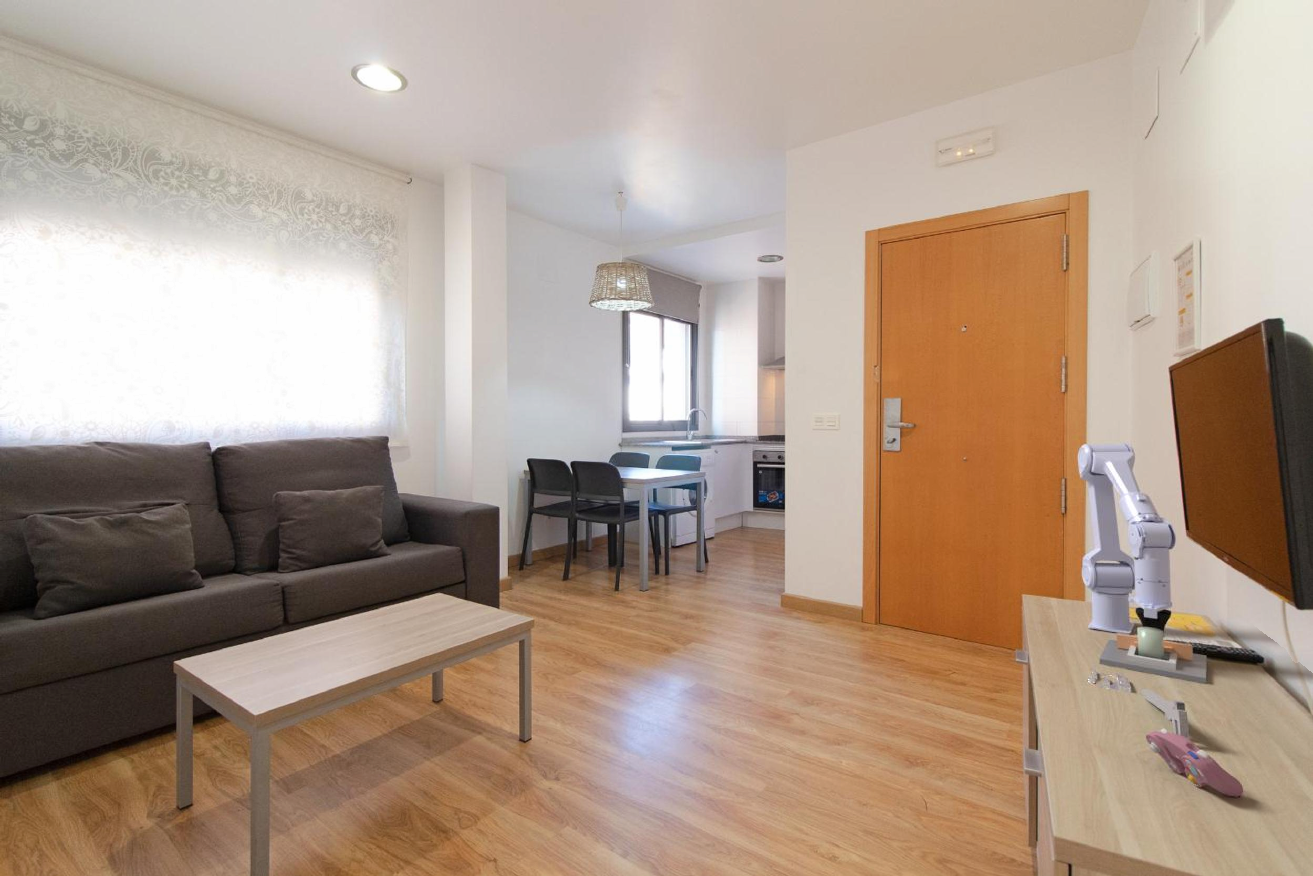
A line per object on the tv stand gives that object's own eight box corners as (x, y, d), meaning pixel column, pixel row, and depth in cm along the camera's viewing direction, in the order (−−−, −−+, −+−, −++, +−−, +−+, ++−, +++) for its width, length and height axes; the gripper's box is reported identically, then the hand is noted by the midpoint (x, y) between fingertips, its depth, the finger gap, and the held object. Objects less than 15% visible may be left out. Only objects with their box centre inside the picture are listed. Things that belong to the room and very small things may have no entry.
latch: (1117, 646, 129) (1117, 633, 129) (1192, 658, 121) (1192, 644, 121) (1116, 649, 127) (1116, 635, 127) (1192, 662, 119) (1192, 648, 119)
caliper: (1189, 748, 90) (1188, 706, 90) (1180, 747, 91) (1179, 705, 91) (1147, 694, 108) (1146, 659, 109) (1139, 693, 109) (1138, 659, 109)
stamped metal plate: (1131, 695, 109) (1131, 687, 109) (1084, 688, 113) (1084, 680, 113) (1125, 680, 116) (1125, 672, 116) (1081, 673, 119) (1081, 666, 119)
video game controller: (1155, 770, 87) (1132, 727, 87) (1183, 755, 87) (1160, 712, 87) (1219, 813, 77) (1193, 764, 77) (1251, 796, 77) (1225, 747, 77)
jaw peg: (1138, 654, 124) (1137, 625, 124) (1163, 658, 122) (1162, 628, 122) (1138, 660, 121) (1137, 631, 121) (1164, 664, 118) (1163, 634, 118)
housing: (1109, 644, 133) (1108, 634, 134) (1206, 660, 123) (1206, 649, 123) (1099, 663, 122) (1099, 653, 122) (1206, 683, 112) (1205, 672, 112)
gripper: (1131, 570, 133) (1133, 632, 133) (1124, 583, 123) (1126, 650, 123) (1173, 574, 128) (1175, 638, 128) (1169, 588, 118) (1171, 658, 118)
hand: (1154, 644), depth 125 cm, fingers closed
